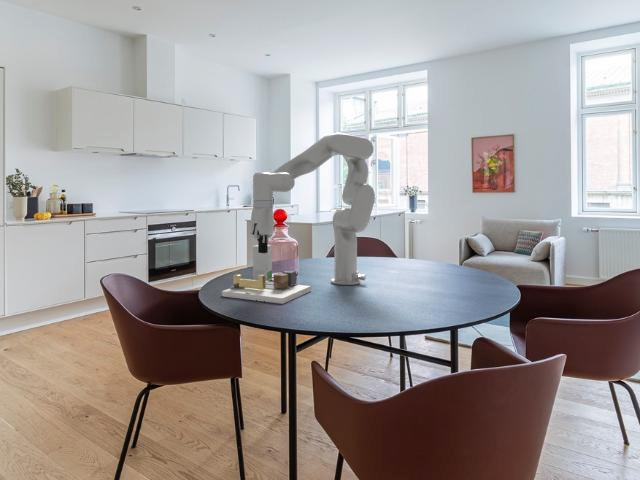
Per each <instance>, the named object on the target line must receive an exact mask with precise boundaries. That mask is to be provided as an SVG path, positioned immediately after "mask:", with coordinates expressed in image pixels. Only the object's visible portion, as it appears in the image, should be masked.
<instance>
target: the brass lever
mask: <svg viewBox="0 0 640 480" xmlns="http://www.w3.org/2000/svg"><path fill="white" fill-rule="evenodd" d="M232 278H233V286H234V287H243V288H252V289H260V290H264V289H266V283H265V275H258V280H253V279H250V278H248V279H247V278H242V274H239V273H238V274H237V273H236V274H233V277H232Z"/></svg>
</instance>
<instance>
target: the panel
mask: <svg viewBox="0 0 640 480" xmlns="http://www.w3.org/2000/svg"><path fill="white" fill-rule="evenodd" d="M265 283H266V289H264V290H260V289H252V288H243V287H234V285H231V286H229V288H227V289H224V290H221V295H222V297H226V298H234V299H241V300H249V301H250V300H251V301H256V300H257V301H256V302H264V301H265V303H273V304H281V305H282V304H286V303H287V302H290V301H291V300H294V299H297V298H299V297H301V296H303V295H305V294H307V293H310V292H312V286H311V285H304V284H303V285H301V284H297V283H296V284H294V285H292V286H290V285H288V287H286V288H284V289H279V288H274V281H265Z"/></svg>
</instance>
